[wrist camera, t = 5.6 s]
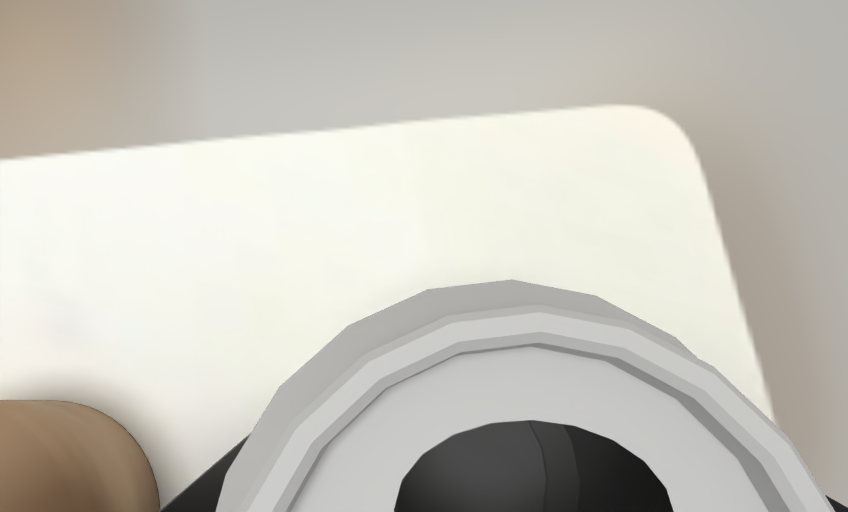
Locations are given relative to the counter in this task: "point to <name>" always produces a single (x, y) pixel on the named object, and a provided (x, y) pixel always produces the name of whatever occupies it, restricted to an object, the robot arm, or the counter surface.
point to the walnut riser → (70, 461)
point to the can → (513, 417)
